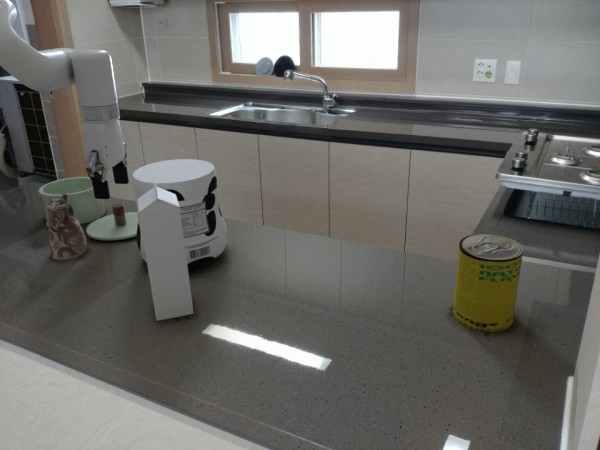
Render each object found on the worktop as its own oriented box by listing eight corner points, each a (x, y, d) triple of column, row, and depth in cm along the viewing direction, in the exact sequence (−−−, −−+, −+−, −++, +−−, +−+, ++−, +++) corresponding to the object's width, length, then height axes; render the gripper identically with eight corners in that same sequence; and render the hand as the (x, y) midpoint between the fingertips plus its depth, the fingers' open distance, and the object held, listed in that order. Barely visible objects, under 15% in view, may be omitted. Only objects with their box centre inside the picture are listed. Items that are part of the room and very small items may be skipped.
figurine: (43, 257, 109) (29, 202, 104) (68, 243, 115) (56, 190, 110) (71, 261, 107) (58, 205, 102) (95, 246, 113) (84, 193, 108)
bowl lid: (74, 242, 115) (69, 218, 113) (105, 216, 129) (100, 194, 126) (140, 243, 113) (136, 218, 111) (164, 217, 127) (161, 194, 125)
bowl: (34, 225, 125) (26, 195, 122) (64, 204, 137) (58, 176, 134) (89, 226, 123) (83, 195, 120) (115, 205, 136) (109, 176, 133)
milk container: (170, 234, 117) (159, 155, 110) (243, 243, 112) (236, 160, 105) (122, 271, 102) (105, 181, 95) (202, 283, 97) (191, 189, 90)
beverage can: (525, 318, 83) (536, 248, 78) (487, 338, 79) (496, 265, 74) (478, 294, 90) (485, 229, 85) (440, 312, 86) (446, 243, 81)
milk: (189, 296, 93) (174, 174, 84) (193, 314, 87) (178, 186, 79) (153, 303, 91) (134, 179, 82) (155, 321, 86) (135, 191, 77)
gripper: (101, 104, 119) (113, 177, 126) (61, 121, 103) (77, 204, 110) (134, 104, 118) (144, 178, 125) (98, 122, 102) (112, 205, 109)
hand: (112, 190), depth 118 cm, fingers open, 9 cm apart
